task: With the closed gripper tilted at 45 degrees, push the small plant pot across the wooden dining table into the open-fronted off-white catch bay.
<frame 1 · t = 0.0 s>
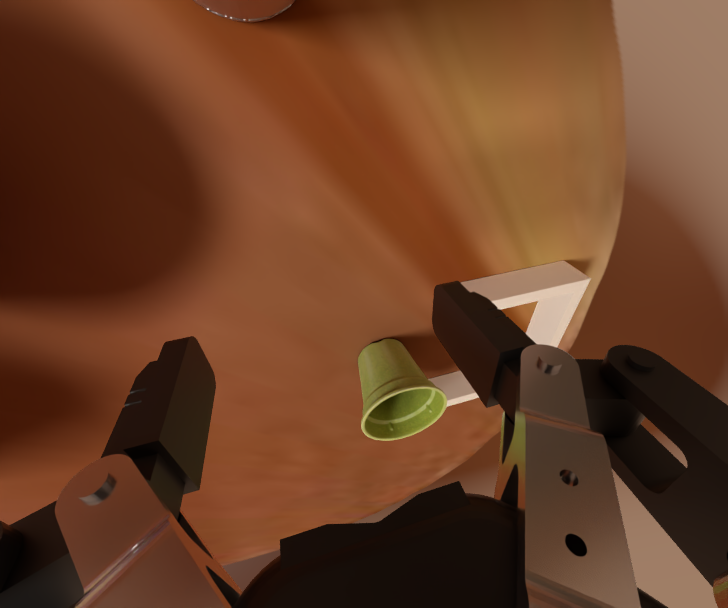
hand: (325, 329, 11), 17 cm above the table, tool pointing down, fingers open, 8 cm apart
plant pot: (380, 354, 39), on the table
catch bay: (481, 331, 41), on the table
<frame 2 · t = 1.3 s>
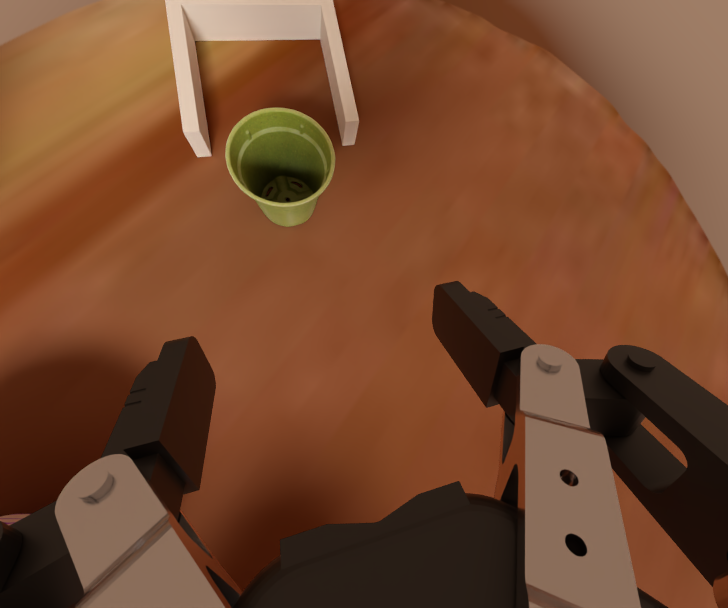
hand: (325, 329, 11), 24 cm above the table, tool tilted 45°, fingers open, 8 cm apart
plant pot: (289, 203, 36), on the table
catch bay: (269, 94, 38), on the table
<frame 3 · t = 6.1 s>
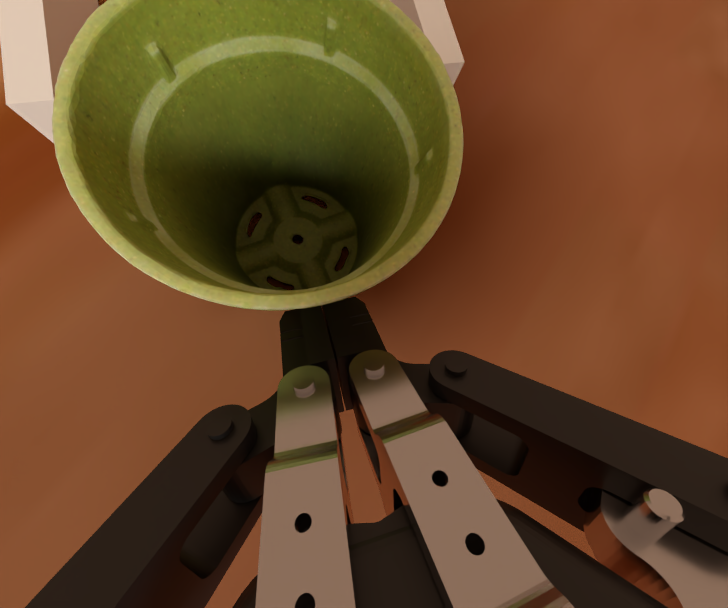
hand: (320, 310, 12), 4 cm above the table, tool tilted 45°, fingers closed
plant pot: (300, 245, 16), on the table, touching gripper
catch bay: (250, 28, 18), on the table
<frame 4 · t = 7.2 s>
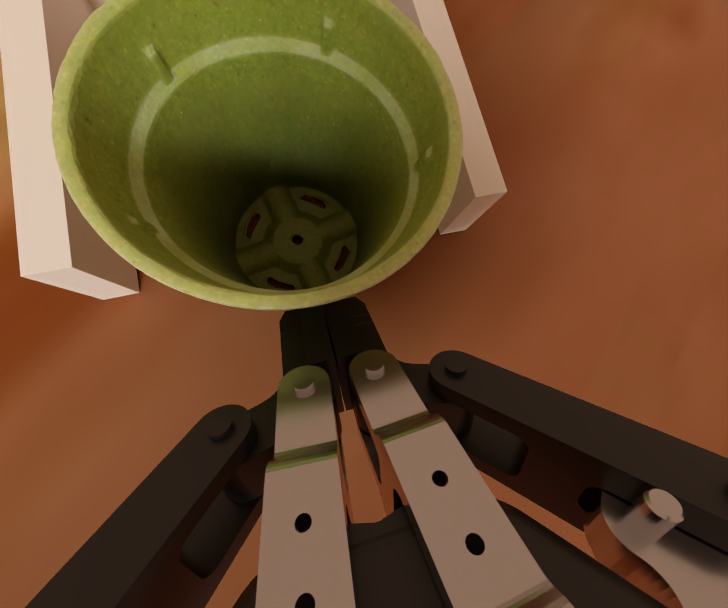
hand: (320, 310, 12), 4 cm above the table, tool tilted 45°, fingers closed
plant pot: (300, 245, 16), on the table, touching gripper
catch bay: (272, 129, 17), on the table
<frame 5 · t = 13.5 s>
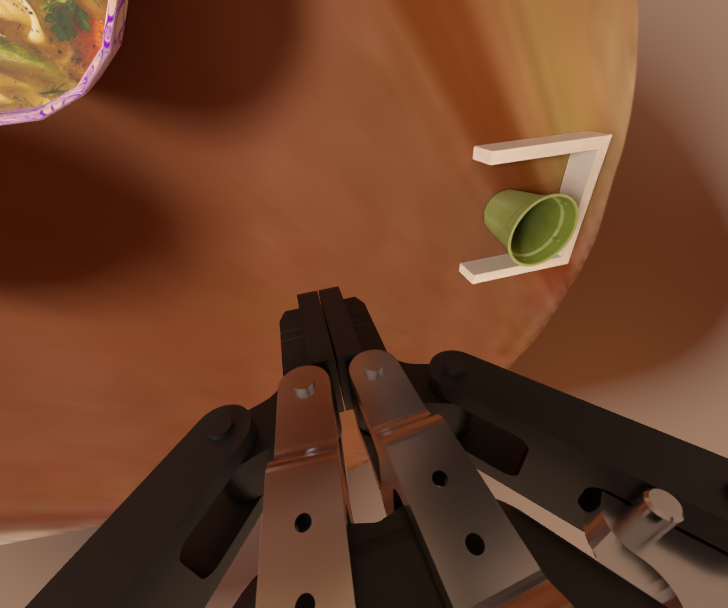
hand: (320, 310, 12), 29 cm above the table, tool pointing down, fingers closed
plant pot: (500, 210, 46), on the table
catch bay: (512, 207, 46), on the table
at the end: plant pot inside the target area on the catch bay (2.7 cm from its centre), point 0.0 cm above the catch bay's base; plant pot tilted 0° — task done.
